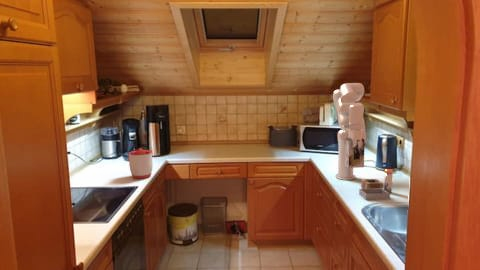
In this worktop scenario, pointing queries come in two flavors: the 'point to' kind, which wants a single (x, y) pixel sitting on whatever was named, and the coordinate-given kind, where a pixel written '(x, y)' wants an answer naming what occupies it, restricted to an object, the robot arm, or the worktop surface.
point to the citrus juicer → (140, 163)
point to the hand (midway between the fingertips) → (354, 157)
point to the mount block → (371, 184)
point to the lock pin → (388, 180)
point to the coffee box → (349, 155)
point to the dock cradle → (374, 194)
